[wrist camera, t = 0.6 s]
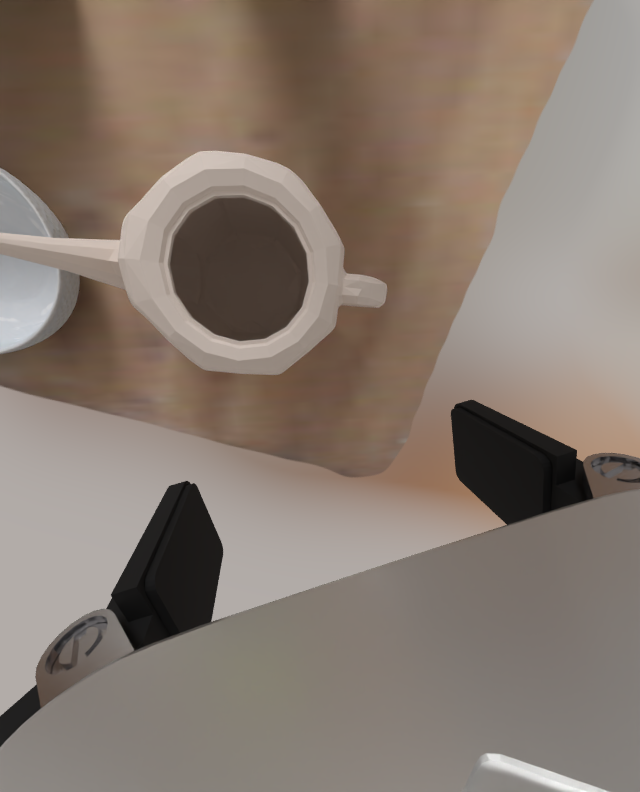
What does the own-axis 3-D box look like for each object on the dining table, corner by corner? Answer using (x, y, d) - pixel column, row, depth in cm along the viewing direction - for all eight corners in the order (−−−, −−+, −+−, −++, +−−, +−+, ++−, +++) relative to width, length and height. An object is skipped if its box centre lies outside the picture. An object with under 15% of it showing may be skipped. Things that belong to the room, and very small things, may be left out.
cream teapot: (112, 189, 31) (-98, 39, 13) (359, 230, 36) (448, 160, 18) (123, 341, 35) (-23, 381, 18) (342, 358, 40) (401, 403, 23)
